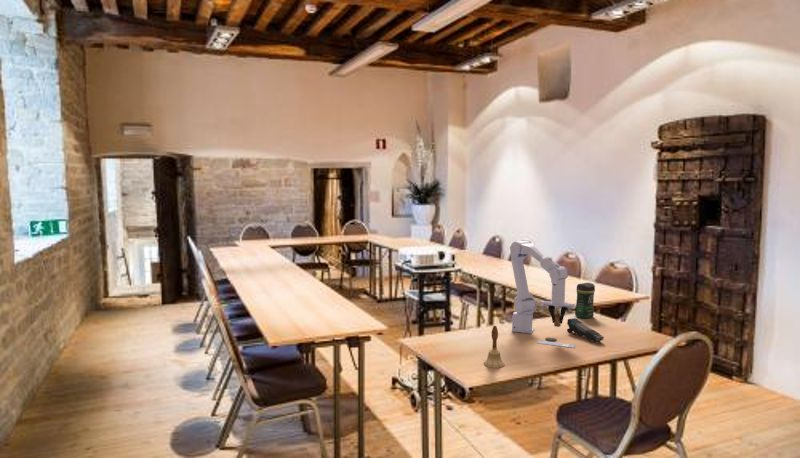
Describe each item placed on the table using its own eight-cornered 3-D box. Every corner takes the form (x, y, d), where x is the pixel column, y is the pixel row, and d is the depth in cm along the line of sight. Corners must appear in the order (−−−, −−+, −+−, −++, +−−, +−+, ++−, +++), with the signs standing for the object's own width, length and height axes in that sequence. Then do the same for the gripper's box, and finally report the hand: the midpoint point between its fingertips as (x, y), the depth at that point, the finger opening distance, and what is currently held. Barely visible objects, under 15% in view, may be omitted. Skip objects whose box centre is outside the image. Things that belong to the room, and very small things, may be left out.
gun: (571, 329, 260) (576, 312, 256) (598, 354, 243) (604, 337, 239) (563, 330, 258) (569, 313, 254) (591, 356, 241) (597, 338, 237)
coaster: (544, 340, 243) (544, 339, 243) (546, 337, 248) (546, 336, 248) (555, 342, 241) (555, 341, 241) (557, 338, 246) (557, 338, 246)
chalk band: (537, 343, 239) (537, 342, 239) (538, 340, 243) (538, 340, 243) (573, 348, 233) (573, 347, 233) (574, 345, 236) (574, 345, 236)
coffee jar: (585, 319, 279) (586, 285, 277) (572, 316, 285) (574, 282, 284) (596, 317, 284) (597, 283, 283) (583, 313, 291) (585, 280, 289)
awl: (553, 326, 240) (554, 311, 239) (554, 324, 242) (554, 310, 242) (560, 327, 239) (560, 312, 238) (560, 325, 241) (561, 310, 240)
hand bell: (507, 368, 208) (508, 328, 207) (486, 368, 208) (487, 328, 206) (501, 360, 216) (502, 322, 215) (481, 361, 216) (482, 323, 214)
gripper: (540, 293, 238) (539, 323, 240) (574, 296, 232) (573, 326, 234) (543, 290, 245) (542, 319, 246) (575, 293, 239) (574, 322, 240)
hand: (557, 322), depth 240 cm, fingers closed on awl, 3 cm apart
